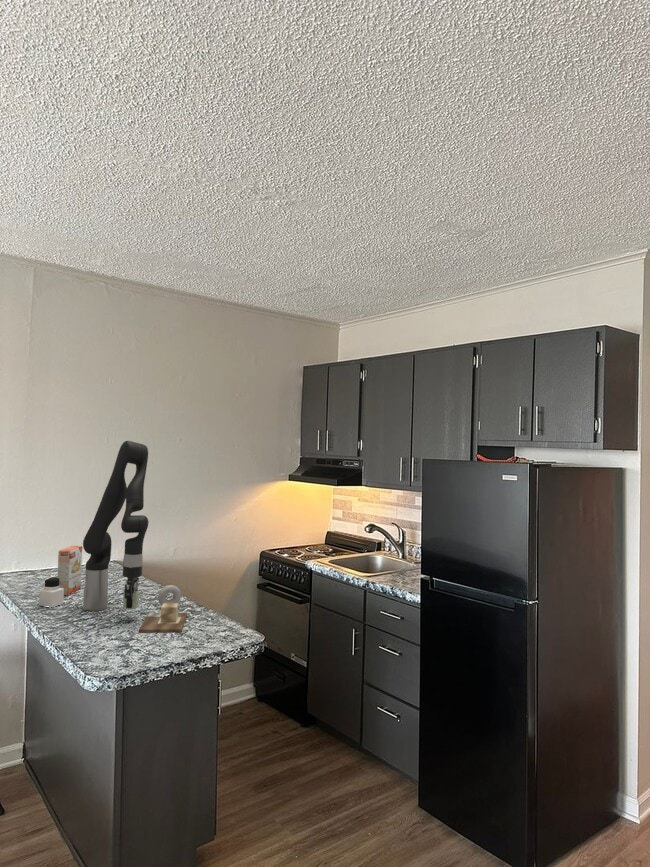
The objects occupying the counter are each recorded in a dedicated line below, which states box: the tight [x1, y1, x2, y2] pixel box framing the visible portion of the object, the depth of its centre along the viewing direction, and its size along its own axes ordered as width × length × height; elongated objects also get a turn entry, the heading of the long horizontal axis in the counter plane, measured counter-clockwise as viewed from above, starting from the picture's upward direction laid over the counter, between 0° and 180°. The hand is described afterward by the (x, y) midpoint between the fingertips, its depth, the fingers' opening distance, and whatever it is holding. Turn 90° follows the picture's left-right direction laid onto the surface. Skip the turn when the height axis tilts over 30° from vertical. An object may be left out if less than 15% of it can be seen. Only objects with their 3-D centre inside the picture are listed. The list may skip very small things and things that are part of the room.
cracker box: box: [57, 545, 83, 596], centre depth 291 cm, size 14×6×21 cm, turn 179°
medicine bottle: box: [38, 576, 65, 607], centre depth 268 cm, size 7×7×12 cm
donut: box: [157, 584, 182, 606], centre depth 269 cm, size 10×4×10 cm, turn 119°
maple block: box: [160, 603, 179, 623], centre depth 247 cm, size 6×6×6 cm
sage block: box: [122, 590, 140, 610], centre depth 250 cm, size 5×5×6 cm
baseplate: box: [138, 612, 188, 634], centre depth 246 cm, size 16×22×1 cm
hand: (130, 605), depth 250 cm, fingers closed on sage block, 5 cm apart
